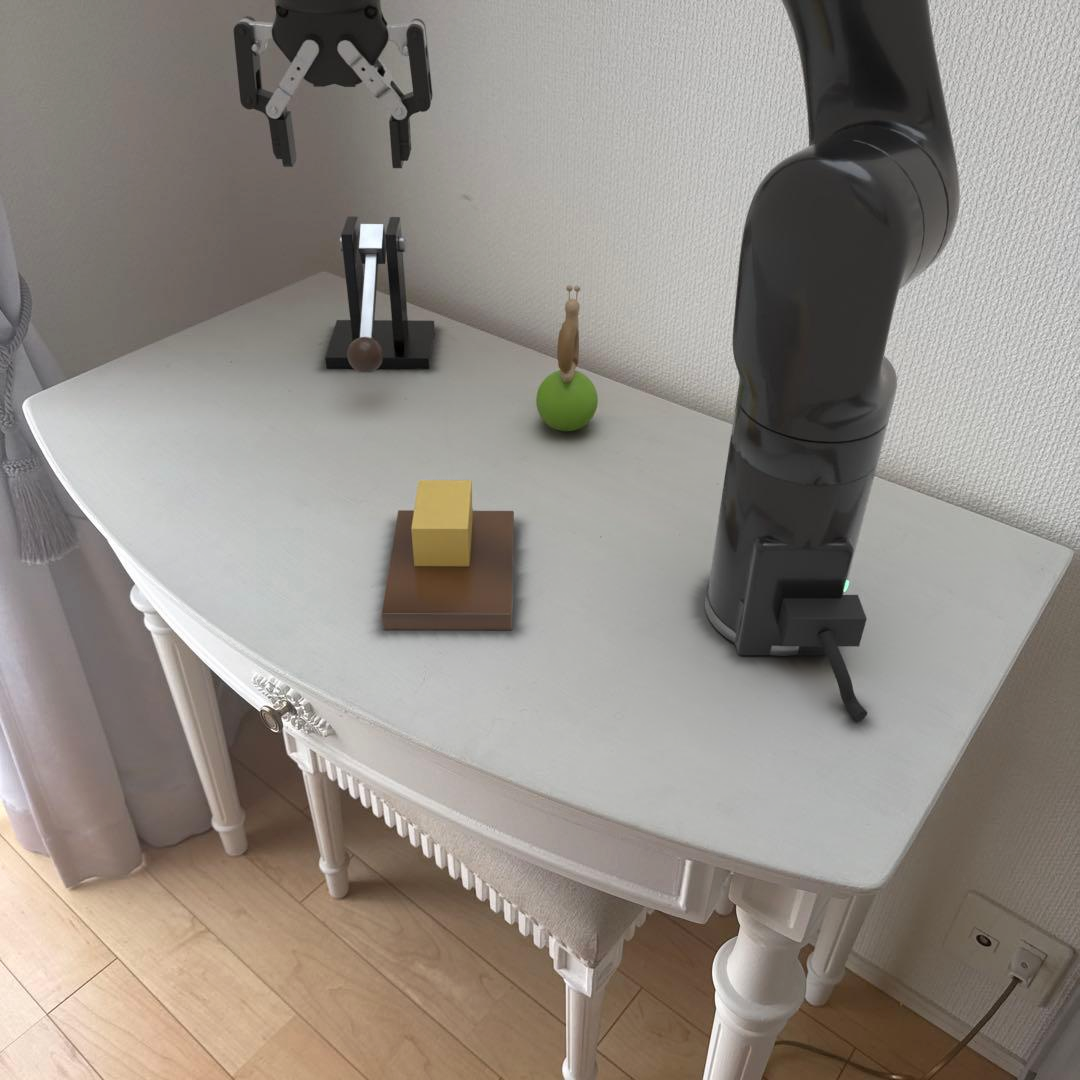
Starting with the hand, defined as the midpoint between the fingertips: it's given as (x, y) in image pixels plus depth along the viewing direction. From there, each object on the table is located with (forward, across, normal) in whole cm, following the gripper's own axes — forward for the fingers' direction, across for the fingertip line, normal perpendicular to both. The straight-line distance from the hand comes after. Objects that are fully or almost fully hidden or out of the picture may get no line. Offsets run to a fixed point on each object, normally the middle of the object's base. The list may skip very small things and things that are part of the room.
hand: (344, 164), depth 83 cm
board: (+22, +9, -24) cm, 34 cm away
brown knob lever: (+16, 0, +7) cm, 17 cm away
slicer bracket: (+22, 0, +11) cm, 25 cm away
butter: (+21, +8, -22) cm, 31 cm away
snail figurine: (+22, +18, -3) cm, 29 cm away
